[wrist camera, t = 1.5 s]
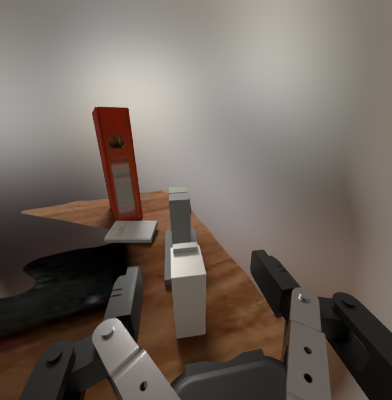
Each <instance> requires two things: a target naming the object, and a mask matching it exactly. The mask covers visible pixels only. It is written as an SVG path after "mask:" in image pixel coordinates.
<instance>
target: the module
mask: <svg viewBox="0 0 392 400" xmlns="http://www.w3.org/2000/svg"><path fill="white" fill-rule="evenodd" d="M171 282H172V294H173V305H174V316H175V328H176V339H178V338H184V337H191V336H198V335H204V334H206V271H205V266H204V262H203V258H202V254H201V251H200V247H199V245H197V242H190V243H179V244H173V248H171Z"/></svg>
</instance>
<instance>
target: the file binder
mask: <svg viewBox="0 0 392 400" xmlns="http://www.w3.org/2000/svg"><path fill="white" fill-rule="evenodd" d="M92 115H93V120H94V125H95V130H96V135H97V141H98V145H99V151H100V156H101V160H102V166H103V171H104V177H105V181H106V187H107V192H108V196H109V202H110V206H111V209H112V212H113V215H114V217H115V220H116V221H136V220H140V219H141V218H143V215H142V207H141V200H140V192H139V185H138V177H137V171H136V162H135V155H134V148H133V139H132V132H131V124H130V117H129V109H128V108H116V107H95V108H94V110H93V112H92Z"/></svg>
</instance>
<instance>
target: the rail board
mask: <svg viewBox="0 0 392 400" xmlns="http://www.w3.org/2000/svg"><path fill="white" fill-rule="evenodd" d="M169 206H170V219H171V229H170V230H166V237H165V286H167V285H172V282H171V248H173V244H179V243H190V242H197V238H196V234H195V230H194V228H191V221H190V214H191V206H190V198H189V194H188V191H187V187H186V186H183V187H169ZM197 245H198V242H197Z"/></svg>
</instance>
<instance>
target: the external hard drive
mask: <svg viewBox="0 0 392 400" xmlns="http://www.w3.org/2000/svg"><path fill="white" fill-rule="evenodd" d="M157 225H158V222H157V221H115V223H114V224H113V226H112V227H111V229H110V230H109V232H108V233H107V235H106V236H105V238H104V241H105V243H152V240H153V237H154V234H155V231H156V228H157Z"/></svg>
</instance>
